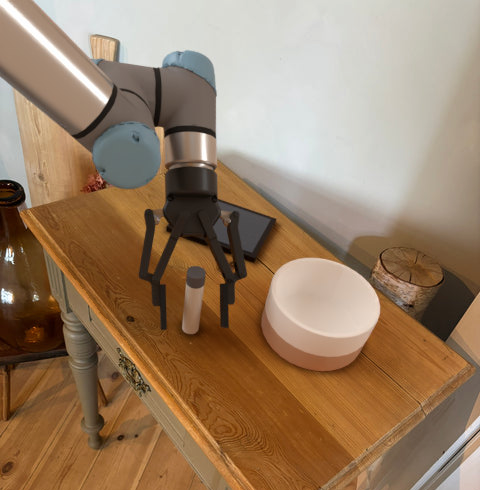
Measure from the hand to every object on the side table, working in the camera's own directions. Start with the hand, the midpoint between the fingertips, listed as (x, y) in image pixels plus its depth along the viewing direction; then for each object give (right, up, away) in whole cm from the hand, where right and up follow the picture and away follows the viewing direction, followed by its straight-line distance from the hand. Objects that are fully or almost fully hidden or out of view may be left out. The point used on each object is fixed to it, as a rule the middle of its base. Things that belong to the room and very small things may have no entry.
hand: (194, 328), depth 68 cm
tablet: (+3, +20, +24) cm, 31 cm away
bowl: (+19, -1, +9) cm, 21 cm away
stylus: (-1, 0, +5) cm, 5 cm away
